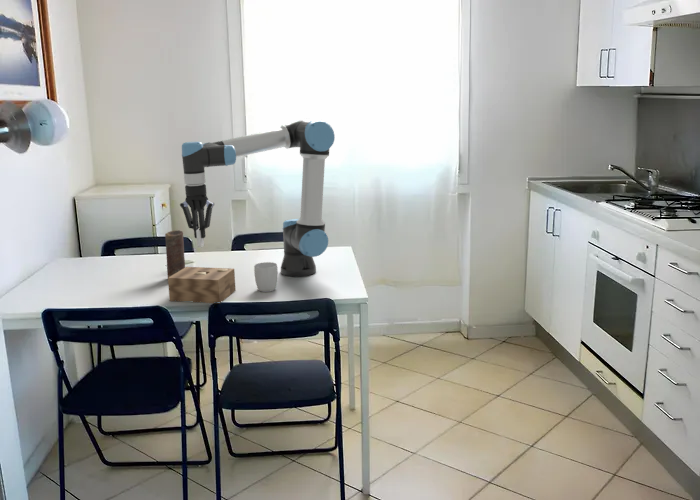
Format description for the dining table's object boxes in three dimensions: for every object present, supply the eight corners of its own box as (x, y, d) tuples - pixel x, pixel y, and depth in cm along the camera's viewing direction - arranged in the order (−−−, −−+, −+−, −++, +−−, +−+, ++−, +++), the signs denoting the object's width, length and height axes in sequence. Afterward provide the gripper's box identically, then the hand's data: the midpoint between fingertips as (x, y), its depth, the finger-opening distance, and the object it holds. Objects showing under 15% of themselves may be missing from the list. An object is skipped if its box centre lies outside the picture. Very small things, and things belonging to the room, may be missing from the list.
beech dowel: (209, 294, 260) (207, 272, 258) (205, 297, 256) (203, 274, 254) (199, 294, 261) (198, 271, 259) (195, 297, 257) (193, 274, 255)
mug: (279, 292, 262) (278, 267, 259) (256, 293, 260) (254, 268, 258) (276, 283, 274) (275, 259, 271) (253, 284, 272) (252, 260, 270)
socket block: (235, 290, 264) (234, 268, 262) (219, 303, 249) (218, 279, 247) (188, 288, 268) (186, 266, 266) (169, 300, 253) (167, 277, 251)
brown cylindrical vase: (189, 277, 285) (186, 230, 280) (178, 281, 278) (174, 234, 273) (175, 275, 288) (171, 229, 283) (164, 279, 281) (160, 233, 277)
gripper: (215, 182, 251) (220, 244, 257) (183, 182, 254) (189, 243, 259) (207, 185, 244) (213, 249, 249) (174, 185, 246) (180, 248, 252)
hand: (200, 246), depth 254 cm, fingers closed
